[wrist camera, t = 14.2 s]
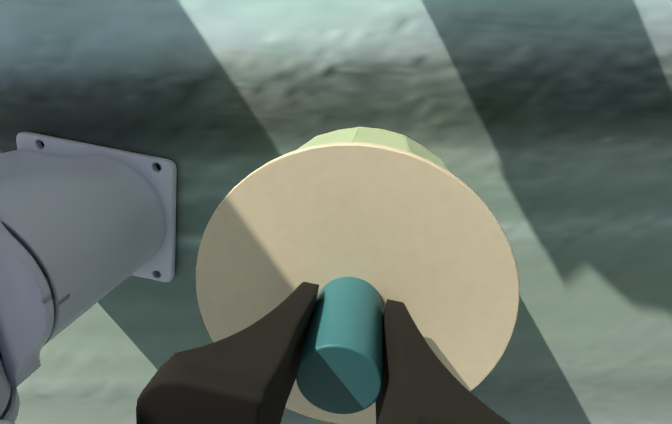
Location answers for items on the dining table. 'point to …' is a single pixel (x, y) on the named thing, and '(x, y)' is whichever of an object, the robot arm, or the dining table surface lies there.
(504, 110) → the dining table surface
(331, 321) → the tub lid
